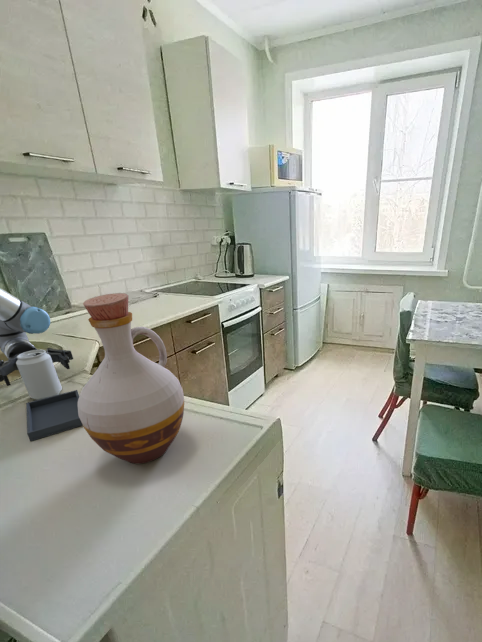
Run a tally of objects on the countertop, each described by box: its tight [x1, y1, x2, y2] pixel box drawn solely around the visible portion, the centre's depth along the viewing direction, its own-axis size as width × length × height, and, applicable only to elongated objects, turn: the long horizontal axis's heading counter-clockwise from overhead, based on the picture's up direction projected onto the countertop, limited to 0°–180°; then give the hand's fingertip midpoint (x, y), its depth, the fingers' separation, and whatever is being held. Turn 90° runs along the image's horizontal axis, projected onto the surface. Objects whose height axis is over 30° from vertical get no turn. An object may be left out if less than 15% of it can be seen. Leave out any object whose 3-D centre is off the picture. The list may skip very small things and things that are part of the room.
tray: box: [25, 389, 83, 442], centre depth 83 cm, size 17×11×2 cm, turn 35°
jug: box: [78, 292, 185, 465], centre depth 64 cm, size 20×18×30 cm
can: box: [16, 349, 63, 401], centre depth 92 cm, size 8×8×12 cm
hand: (38, 372), depth 92 cm, fingers open, 13 cm apart
